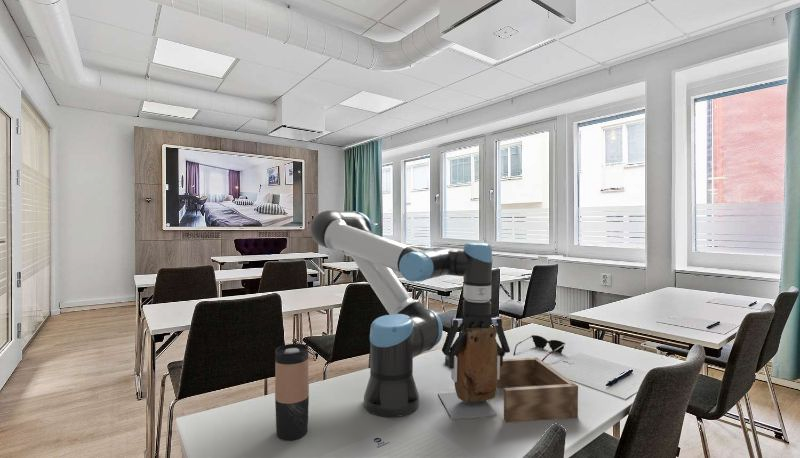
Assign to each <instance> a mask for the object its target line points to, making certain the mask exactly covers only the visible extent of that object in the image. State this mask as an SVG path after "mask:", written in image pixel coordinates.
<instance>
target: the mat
mask: <svg viewBox="0 0 800 458" xmlns="http://www.w3.org/2000/svg"><path fill="white" fill-rule="evenodd" d="M437 396H438V398H439V399H440V400H441V403H442V404H443V406H444V408H445V410H446V411H447V414H448V415H450V416H449V417H450V419H451V420H460V419H461V420H463V419H472V418H473V419H474V418H476V419H477V418H485V417H486V418H487V417H497V416H498V414H497V412H496V411H495V410H494V409H493V408H492V406H491V405H490V404H489V402H488V400H487V401H478V402H474V401H470V402H465V401H462V400H461V399H459V398H458V397H457V393H456V391H454V392H441V393H437Z"/></svg>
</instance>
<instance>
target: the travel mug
mask: <svg viewBox="0 0 800 458" xmlns="http://www.w3.org/2000/svg"><path fill="white" fill-rule="evenodd" d="M274 353H275V356H274V359H275V360H274V361H275V364H274V365H275V366H274V369H275V370H274V371H275V374H274V375H275V377H274V378H275V379H274V381H275V382H274V386H275V389H274V390H275V391H274V397H275V399H274V400H275V401H274V402H275V403H274V404H275V427H276V436H277V438H278V439H279V440H281V441H289V442H290V441H296V440H299V439H301V438H303V437H305V435H307V433H308V431H309V429H308V428H309V404H310V403H309V399H310V398H309V397H310V394H309V393H310V389H309V387H310V386H309V385H310V384H309V347H308V345H307V344H303V343H289V344H284V345H280V346H278V347H277V348H275V350H274Z"/></svg>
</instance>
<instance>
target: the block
mask: <svg viewBox="0 0 800 458" xmlns="http://www.w3.org/2000/svg"><path fill="white" fill-rule="evenodd" d="M462 329H464V331H465V332H466V331H467V330H468V329H469V328H465V327H464V326H463V325H462ZM466 337H467V339H466V340H465V342H464V343H463V345H462V346H461V347H460V349H459V350H458V352H457V353H456V355H455V356H456V357H457V382H454V391H455V392H456V393H457V397H458V398H459V399H461V400H462V401H465V402H470V401H474V402H478V401H487V402H488V401H489V400H492V399H493V398H495V396H496V394H497V389H498V388H497V343H498V341H497V332H496V329H495V327H493V326H492V325H490V326H489V327H488V328H482V327H476V328H470V329H469V331H467V336H466Z"/></svg>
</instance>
